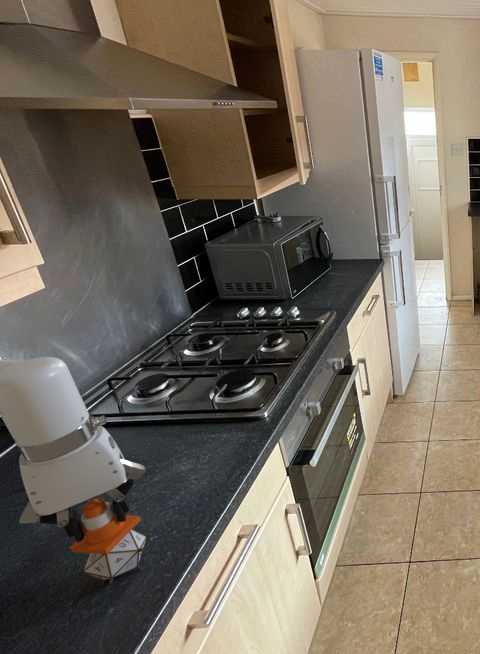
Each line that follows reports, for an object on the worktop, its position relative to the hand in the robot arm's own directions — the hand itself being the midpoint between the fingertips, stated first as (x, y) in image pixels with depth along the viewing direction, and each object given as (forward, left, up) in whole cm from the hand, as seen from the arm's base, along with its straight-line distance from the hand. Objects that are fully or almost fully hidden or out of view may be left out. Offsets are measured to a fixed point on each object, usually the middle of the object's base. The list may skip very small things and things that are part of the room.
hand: (102, 524), depth 68 cm
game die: (0, 0, -11) cm, 11 cm away
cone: (0, 0, -3) cm, 3 cm away
